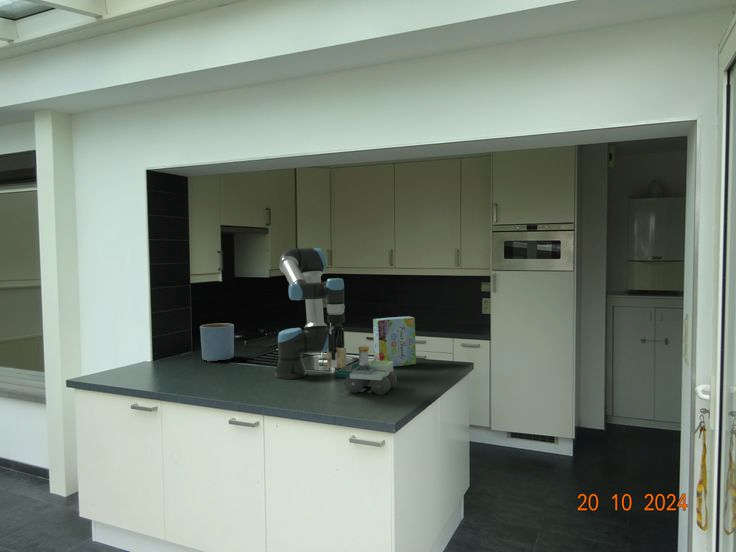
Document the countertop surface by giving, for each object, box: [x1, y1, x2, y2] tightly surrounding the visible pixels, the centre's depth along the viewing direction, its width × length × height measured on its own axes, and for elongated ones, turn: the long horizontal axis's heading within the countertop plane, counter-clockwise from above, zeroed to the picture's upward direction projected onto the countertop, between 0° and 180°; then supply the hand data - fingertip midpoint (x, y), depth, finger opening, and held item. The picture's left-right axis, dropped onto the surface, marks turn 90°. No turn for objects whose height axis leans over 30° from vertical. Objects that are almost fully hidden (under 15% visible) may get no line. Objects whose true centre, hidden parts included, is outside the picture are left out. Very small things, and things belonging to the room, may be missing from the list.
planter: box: [199, 322, 235, 362], centre depth 319 cm, size 19×19×20 cm
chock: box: [326, 347, 347, 369], centre depth 241 cm, size 7×5×8 cm
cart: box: [344, 367, 398, 396], centre depth 241 cm, size 20×18×10 cm
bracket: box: [333, 362, 359, 379], centre depth 268 cm, size 18×7×8 cm, turn 61°
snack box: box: [372, 315, 417, 368], centre depth 294 cm, size 22×9×26 cm, turn 111°
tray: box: [368, 360, 394, 372], centre depth 244 cm, size 11×10×2 cm
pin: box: [357, 345, 370, 371], centre depth 237 cm, size 5×5×11 cm
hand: (337, 365), depth 241 cm, fingers closed on chock, 5 cm apart
